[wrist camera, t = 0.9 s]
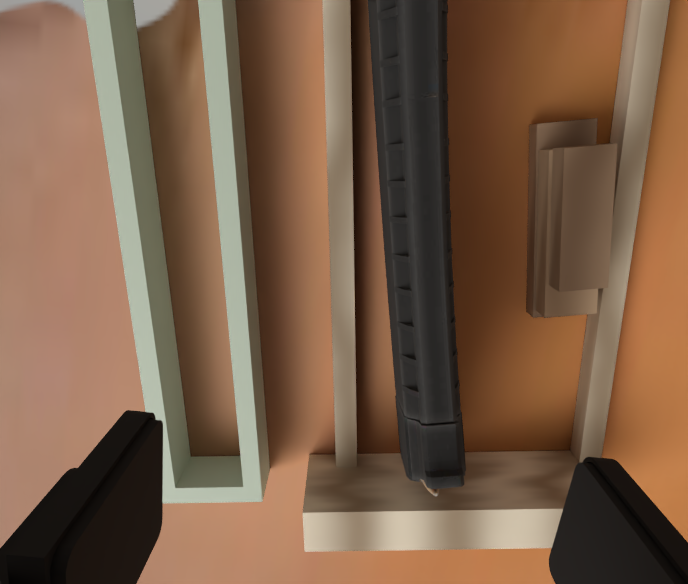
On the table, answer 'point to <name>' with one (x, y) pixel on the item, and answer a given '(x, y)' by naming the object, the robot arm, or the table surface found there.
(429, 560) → the table surface
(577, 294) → the offcut stack
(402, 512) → the rack
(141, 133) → the display holder
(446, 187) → the magazine
